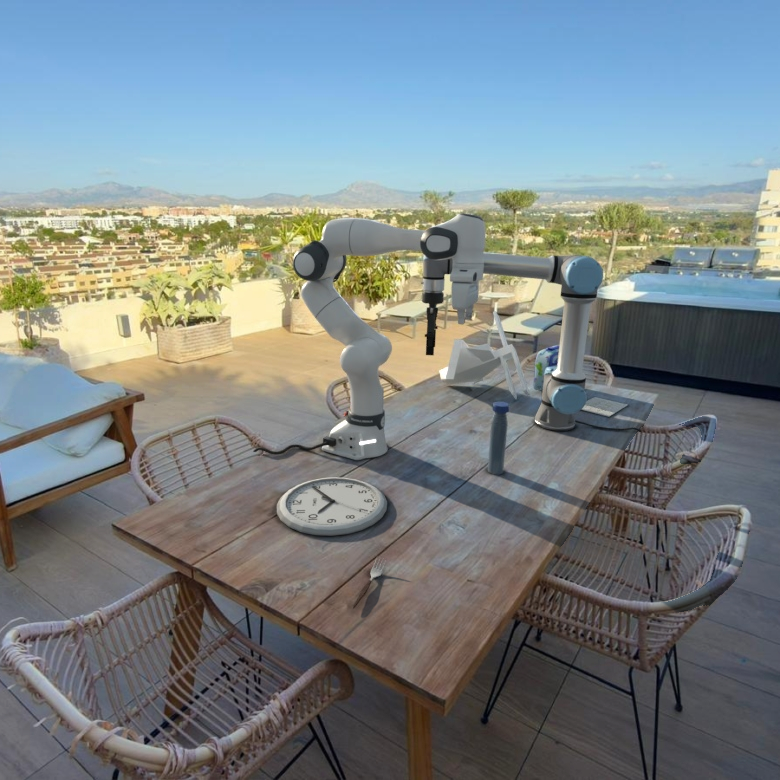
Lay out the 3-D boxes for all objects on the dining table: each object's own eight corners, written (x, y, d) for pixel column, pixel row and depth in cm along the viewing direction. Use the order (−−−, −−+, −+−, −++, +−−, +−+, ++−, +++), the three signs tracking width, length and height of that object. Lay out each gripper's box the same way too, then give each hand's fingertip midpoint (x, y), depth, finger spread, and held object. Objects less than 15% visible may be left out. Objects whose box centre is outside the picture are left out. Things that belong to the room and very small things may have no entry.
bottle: (503, 468, 166) (509, 403, 160) (502, 475, 162) (508, 408, 155) (488, 466, 167) (493, 402, 161) (487, 473, 163) (492, 407, 156)
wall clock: (392, 527, 129) (268, 531, 127) (391, 533, 130) (269, 537, 127) (383, 473, 158) (282, 475, 155) (383, 478, 158) (282, 480, 156)
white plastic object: (461, 429, 252) (437, 405, 227) (444, 352, 274) (420, 323, 250) (535, 404, 240) (518, 377, 215) (510, 326, 262) (492, 293, 237)
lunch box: (550, 397, 237) (555, 352, 231) (529, 391, 245) (533, 348, 238) (577, 386, 255) (582, 344, 249) (556, 381, 262) (561, 340, 256)
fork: (347, 608, 104) (347, 600, 103) (376, 563, 118) (376, 555, 118) (359, 612, 103) (359, 603, 103) (387, 565, 118) (387, 558, 117)
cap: (508, 409, 160) (509, 402, 160) (508, 414, 156) (508, 407, 155) (493, 407, 161) (493, 400, 161) (492, 412, 157) (492, 405, 156)
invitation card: (608, 416, 214) (573, 407, 224) (608, 416, 214) (573, 408, 224) (628, 404, 229) (594, 396, 238) (628, 405, 229) (594, 397, 238)
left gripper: (464, 270, 160) (461, 315, 164) (448, 275, 141) (446, 326, 145) (485, 271, 158) (482, 316, 162) (471, 276, 139) (468, 328, 143)
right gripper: (424, 287, 195) (422, 343, 201) (420, 295, 171) (417, 358, 177) (444, 287, 194) (441, 343, 200) (443, 296, 170) (440, 359, 177)
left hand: (464, 321), depth 153 cm, fingers open, 8 cm apart
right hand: (430, 350), depth 189 cm, fingers open, 13 cm apart
